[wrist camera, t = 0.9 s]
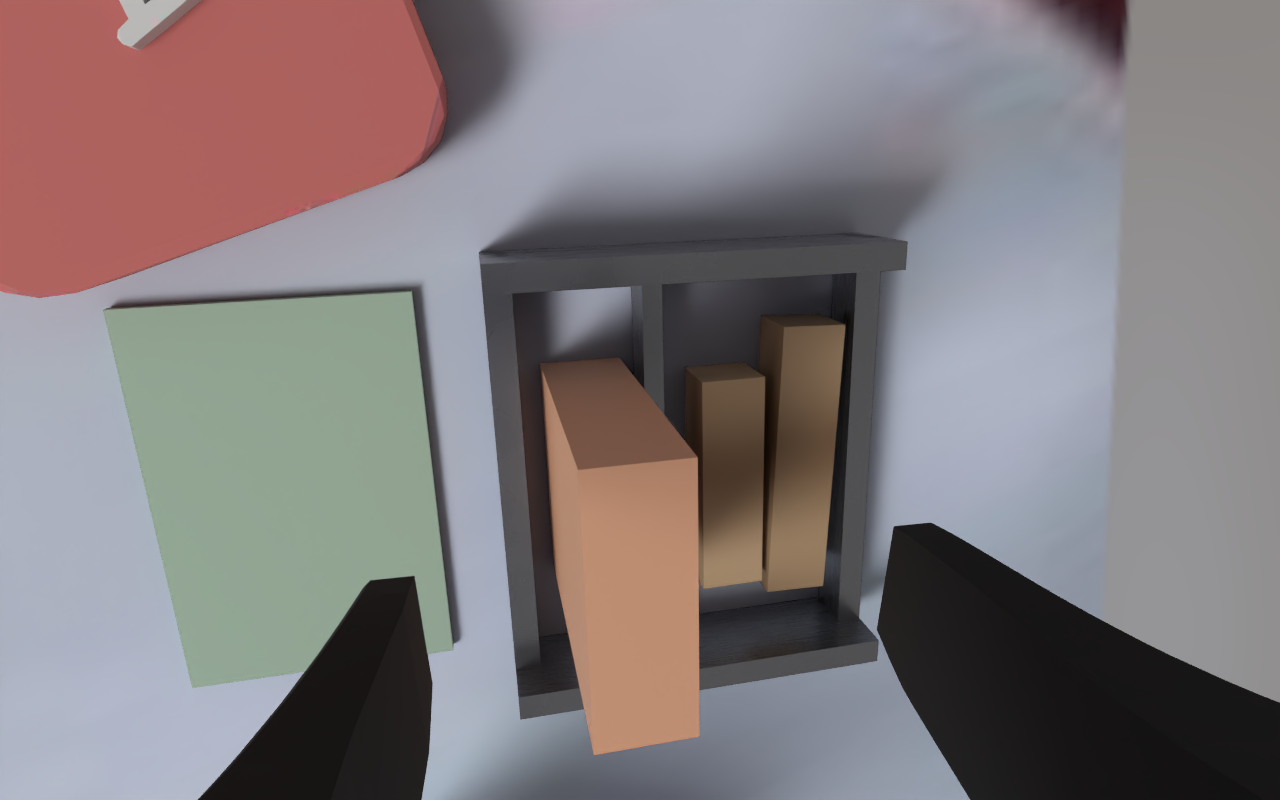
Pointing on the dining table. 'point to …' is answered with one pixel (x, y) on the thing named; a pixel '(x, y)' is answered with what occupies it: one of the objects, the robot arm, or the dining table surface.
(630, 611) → the tall orange plank
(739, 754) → the dining table surface
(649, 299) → the rack
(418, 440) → the mat
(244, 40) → the red flat case
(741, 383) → the offcut short
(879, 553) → the dining table surface
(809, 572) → the block
